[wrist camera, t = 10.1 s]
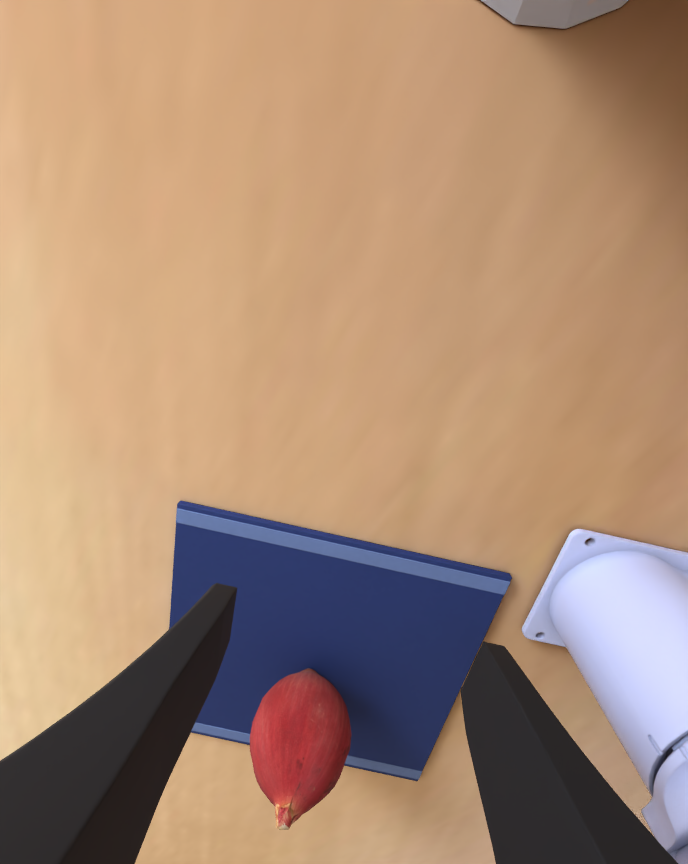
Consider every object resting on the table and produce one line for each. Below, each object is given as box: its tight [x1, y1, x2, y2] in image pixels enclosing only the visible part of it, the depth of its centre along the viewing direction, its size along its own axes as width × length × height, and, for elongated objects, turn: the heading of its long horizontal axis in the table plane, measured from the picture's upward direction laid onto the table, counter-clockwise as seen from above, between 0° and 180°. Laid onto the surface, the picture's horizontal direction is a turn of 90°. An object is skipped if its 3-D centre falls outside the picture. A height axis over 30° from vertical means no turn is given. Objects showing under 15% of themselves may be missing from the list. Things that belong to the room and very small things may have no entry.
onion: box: [250, 668, 351, 830], centre depth 21 cm, size 6×6×8 cm
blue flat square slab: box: [169, 501, 512, 781], centre depth 25 cm, size 20×20×1 cm
